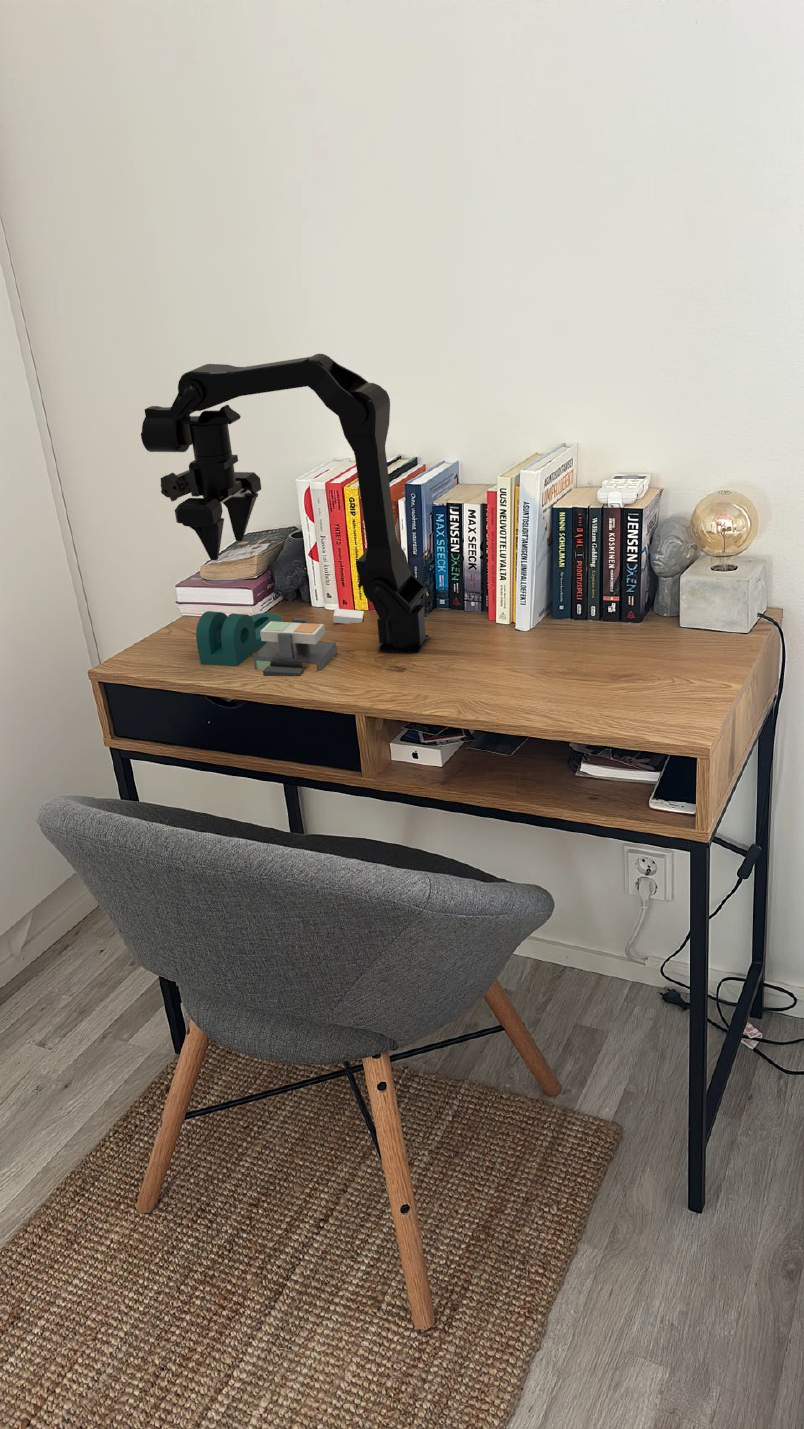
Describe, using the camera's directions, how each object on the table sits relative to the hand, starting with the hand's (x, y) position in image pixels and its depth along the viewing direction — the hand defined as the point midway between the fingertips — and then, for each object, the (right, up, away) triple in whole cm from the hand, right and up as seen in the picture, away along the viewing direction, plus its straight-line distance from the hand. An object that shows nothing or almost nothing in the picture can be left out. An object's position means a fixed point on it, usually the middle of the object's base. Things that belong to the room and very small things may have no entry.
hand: (227, 550), depth 182 cm
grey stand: (+11, -19, -2) cm, 22 cm away
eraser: (+16, -11, +11) cm, 23 cm away
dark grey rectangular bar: (+10, -21, -7) cm, 24 cm away
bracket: (+2, -15, +7) cm, 17 cm away
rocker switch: (+11, -13, -5) cm, 18 cm away
